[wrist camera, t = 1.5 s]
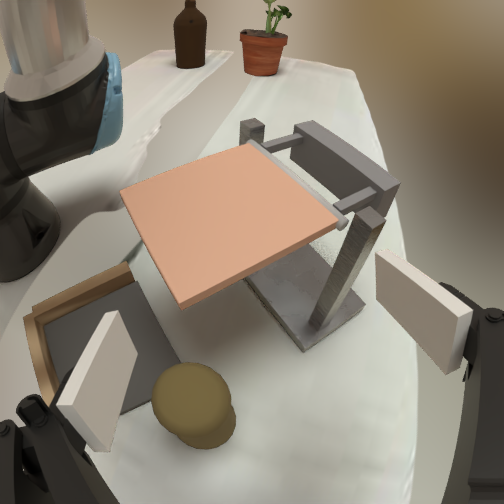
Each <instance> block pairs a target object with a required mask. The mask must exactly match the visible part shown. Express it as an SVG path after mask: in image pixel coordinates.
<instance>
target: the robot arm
mask: <svg viewBox="0 0 504 504" xmlns="http://www.w3.org/2000/svg"><path fill="white" fill-rule="evenodd" d="M0 31H1V35H2V39H3V42H4V46H5V49H6V52H7V56H8V58H9V62H10V65H11V67H12V69H11V71H10V73H9V75H8V77H7V79H6V81H5V84H4V90H5V91H4V92H2V93H0V281H2V282H6V281H12V280H15V279H18V278H20V277H22V276H24V275H26V274H27V273H29V272H30V271H32V270H33V269H34V268H36V267H37V266H38V265H39V264H40V263H41V262H42V261H43V260H44V259H45V258H46V256H47V255H48V254H49V252H50V251H51V250H52V248H53V246H54V244H55V243H56V240H57V238H58V235H59V231H60V218H59V215H58V213H57V211H56V209H55V207H54V205H53V204H52V202H51V201H50V200H49V199H48V198H47V197H46V196H45V195H44V194H43V193H42V192H41V191H40V190H39V189H38V188H37V187H36V186H35V185H34V184H33V183H32V182H31V181H30V179H29V177H28V176H31V175H33V174H36V173H38V172H41V171H43V170H46V169H49V168H51V167H54V166H57V165H59V164H62V163H65V162H68V161H71V160H74V159H77V158H80V157H83V156H86V155H91V154H93V153H94V152H95V151H98V150H100V149H103V148H105V147H108V146H111V145H113V144H114V143H115V142H116V141H117V140H118V139H119V137H120V135H121V132H122V126H123V95H122V91H121V90H122V76H121V67H120V61H119V58H118V55H117V54H116V53H109V52H108V53H107V52H106V53H105V47H104V44H103V42H102V41H101V40H99V39H98V38H96V37H93V36H91V35H89V32H88V24H87V14H86V3H85V0H0ZM375 265H376V300H377V301H378V302H379V303H380V304H381V305H382V306H383V307H384V308H385V309H386V310H387V311H388V312H389V313H390V314H391V315H392V316H393V317H394V318H395V320H396V321H397V322H398V323H399V324H400V325H401V326H402V327H403V328H404V329H405V330H406V331H407V332H408V334H409V335H410V336H411V337H412V338H413V339H414V340H415V341H416V342H417V343H418V344H419V346H420V347H421V348H422V349H423V350H424V351H425V352H426V353H427V355H428V356H429V357H430V358H431V359H432V360H433V361H434V362H435V364H436V365H437V366H438V367H439V368H440V369H441V370H442V372H443V373H444V374H445V375H447V374H449V373H451V372H453V371H455V370H457V369H458V368H460V365H461V362H462V358H463V356H464V358H465V359H466V360H467V361H468V364H467V368H466V371H465V374H464V378H463V382H465V391H464V400H463V408H462V415H461V422H460V429H459V434H458V439H457V445H456V450H455V455H454V459H453V463H452V468H451V472H450V475H449V479H448V483H447V487H446V490H445V493H444V496H443V500H442V503H441V504H504V311H502V310H500V309H496V308H487V309H482V308H481V307H480V306H479V305H477V304H476V303H475V302H473V301H472V300H470V299H469V298H468V297H465V295H464V294H462V293H461V292H459V291H458V290H457V289H455V288H454V287H452V286H451V285H448V284H445V283H442V282H441V283H436V282H435V281H433V280H432V279H431V278H429V277H428V276H427V275H425V274H424V273H422V272H421V271H420V270H418V269H417V268H415V267H414V266H412V265H411V264H409V263H408V262H407V261H405V260H404V259H402V258H401V257H399V256H398V255H396V254H395V253H393V252H392V251H390V250H389V249H385V250H381V251H377V252H375ZM137 355H138V353H137V351H136V349H135V347H134V345H133V342H132V340H131V338H130V336H129V334H128V332H127V329H126V327H125V325H124V323H123V320H122V318H121V316H120V313H119V311H118V310H117V311H112V312H107V313H105V314H104V316H103V318H102V320H101V321H100V323H99V325H98V326H97V328H96V330H95V332H94V333H93V335H92V337H91V339H90V341H89V342H88V344H87V346H86V348H85V350H84V351H83V353H82V355H81V357H80V359H79V361H78V363H77V364H76V366H75V367H72V368H71V369H70V370H69V371H68V372H67V373H66V374H65V376H64V378H63V380H62V382H61V384H60V386H59V388H58V390H57V391H56V393H55V395H54V397H53V399H52V401H51V403H50V405H49V407H48V406H47V404H46V403H45V402H44V400H43V399H42V398H41V396H40V395H37V394H32V395H29V396H27V397H25V398H24V399H23V400H21V402H20V403H19V404H18V406H17V408H16V413H17V414H18V416H19V417H20V418H21V420H22V421H23V422H24V423H25V424H26V426H24V427H20V428H18V427H17V425H16V424H15V423H14V422H13V421H12V420H9V419H8V420H4V421H2V422H0V504H120V503H119V502H118V500H117V499H116V498H115V496H114V495H113V493H112V492H111V490H110V489H109V487H108V486H107V484H106V483H105V481H104V480H103V478H102V476H101V475H100V473H99V472H98V470H97V468H96V467H95V465H94V463H93V462H92V460H91V458H90V457H89V455H88V454H87V453H86V452H85V451H84V449H85V446H86V443H87V444H88V445H89V447H90V448H91V449H92V450H93V451H94V452H110V449H111V445H112V441H113V437H114V433H115V430H116V426H117V422H118V418H119V415H120V411H121V408H122V404H123V401H124V397H125V394H126V390H127V387H128V384H129V380H130V377H131V374H132V371H133V367H134V364H135V361H136V358H137ZM465 379H466V380H465ZM23 469H24V471H23Z"/></svg>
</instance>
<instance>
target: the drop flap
mask: <svg viewBox="0 0 504 504" xmlns="http://www.w3.org/2000/svg"><path fill="white" fill-rule="evenodd" d="M290 147H291V154H290V159H291V160H292V161H294V162H295V163H296V164H297V165H299V166H300V167H301V168H302V169H304V170H305V171H306V172H307V173H309V174H310V175H311V176H312V177H314V178H315V179H316V180H317V181H318V182H320V183H321V184H322V185H323V186H324V187H326V188H327V189H328V190H329V191H330V192H331V193H333V194H334V195H335V196H336V197H337V198H338V199H340V201H338V202H336V203H334V204H333V206H332V205H331V204H330V203H329V202H328V201H327V200H326V199H324V198H323V197H322V196H321V195H320V194H319V193H318V192H316V191H315V190H314V189H313V188H312V187H311V186H309V185H308V184H307V183H306V182H305V181H304V180H302V179H301V178H300V177H299V176H298V175H296V174H295V173H294V172H293V171H292V170H290V169H289V168H288V167H287V166H285V165H284V164H283V163H282V162H281V161H279V160H278V159H277V158H276V157H274V156H273V155H272V154H271V153H274V152H277V151H280V150H283V149H287V148H290ZM400 184H401V182H400V181H398V180H397V179H396V178H395V177H393V176H392V175H391V174H389V173H388V172H387V171H386V170H384V169H383V168H382V167H380V166H379V165H378V164H376V163H375V162H374V161H372V160H371V159H369V158H368V157H367V156H365V155H364V154H363V153H361V152H360V151H358V150H357V149H356V148H354V147H353V146H351V145H350V144H348V143H347V142H345V141H344V140H342V139H341V138H340V137H338V136H337V135H335V134H334V133H332V132H330V131H329V130H327V129H326V128H324V127H323V126H321V125H320V124H318V123H316V122H315V121H313V120H312V121H308V122H303V123H299V124H295V125H294V132H293V134H292V135H288V136H284V137H281V138H278V139H274V140H271V141H267V142H264V143H261V144H260V145H259V144H258V143H257V142H255V141H254V140H252V139H250V140H248V141H247V142H246V144H244V145H241V146H237V147H234V148H231V149H228V150H225V151H222V152H219V153H216V154H213V155H210V156H207V157H204V158H202V159H199V160H196V161H193V162H191V163H188V164H185V165H183V166H180V167H177V168H174V169H172V170H169V171H166V172H164V173H161V174H159V175H156V176H154V177H151V178H149V179H147V180H144V181H142V182H139V183H136V184H134V185H132V186H129V187H127V188H125V189H122V190H120V191H119V192H120V195H121V198H122V200H123V202H124V204H125V206H126V208H127V210H128V213H129V215H130V216H131V219H132V221H133V223H134V225H135V227H136V229H137V231H138V233H139V234H140V237H141V238H142V240H143V242H144V244H145V246H146V248H147V250H148V252H149V254H150V256H151V258H152V259H153V261H154V263H155V265H156V267H157V269H158V270H159V272H160V274H161V276H162V278H163V279H164V281H165V283H166V285H167V287H168V288H169V290H170V292H171V294H172V295H173V297H174V299H175V301H176V302H177V304H178V306H179V307H180V309H181V311H182V310H184V309H186V308H188V307H190V306H191V305H193V304H195V303H197V302H199V301H201V300H203V299H205V298H207V297H209V296H211V295H213V294H214V293H216V292H218V291H220V290H222V289H224V288H226V287H228V286H230V285H232V284H233V283H235V282H237V281H239V280H241V279H243V278H245V277H247V276H249V275H250V274H252V273H254V272H256V271H258V270H260V269H262V268H264V267H265V266H267V265H269V264H271V263H273V262H275V261H277V260H279V259H280V258H282V257H284V256H286V255H288V254H290V253H292V252H293V251H295V250H297V249H299V248H301V247H303V246H304V245H306V244H308V243H310V242H312V241H314V240H315V239H317V238H319V237H321V236H323V235H325V234H326V233H328V232H330V231H332V230H334V229H336V228H337V229H338V230H339V231H341V230H343V229H344V228H345V227H346V226H347V224H348V222H349V220H348V219H347V218H346V217H345V216H344V215H346V214H348V213H350V212H352V211H353V212H354V213H357V212H359V211H361V210H363V209H365V208H366V207H368V206H371V207H372V208H373V209H374V210H375V211H376V212H378V213H379V214H380V215H381V216H382V217H383V218H384V217H386V215H387V213H388V210H389V208H390V206H391V204H392V202H393V199H394V197H395V195H396V193H397V190H398V188H399V186H400Z"/></svg>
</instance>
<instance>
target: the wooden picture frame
mask: <svg viewBox="0 0 504 504" xmlns="http://www.w3.org/2000/svg"><path fill="white" fill-rule="evenodd" d="M134 282H135V280H134V277H133V275H132V272H131V270H130V268H129V266H128V264H127V261H125V262H123V263H121V264H119V265H117V266H114V267H112V268H110V269H108V270H106V271H104V272H102V273H100V274H98V275H95V276H93V277H91V278H89V279H87V280H85V281H83V282H81V283H79V284H77V285H75V286H73V287H71V288H69V289H67V290H65V291H63V292H60V293H58V294H57V295H55V296H52V297H50V298H48V299H47V300H45V301H43V302H41V303H39V304H37V305H35V306H33V307H32V311H33V312H32V313H31V314H28V315H26V316H25V317H23V319H24V325H25V330H26V336H27V340H28V345H29V349H30V354H31V358H32V362H33V366H34V370H35V374H36V377H37V381H38V384H39V388H40V391H41V394H42V398H43V400H44V402H45V403H46V404H47V406H48V407H49V405H50V403H51V401H52V399H53V397H54V395H55V393H56V391H57V390H58V388H59V386H60V383H59V380H58V377H57V374H56V370H55V367H54V364H53V361H52V357H51V354H50V350H49V346H48V342H47V339H46V335H45V330H44V326H45V325H47V324H49V323H51V322H53V321H55V320H57V319H59V318H61V317H63V316H65V315H67V314H69V313H71V312H73V311H75V310H77V309H79V308H81V307H83V306H86V305H88V304H90V303H92V302H94V301H96V300H98V299H100V298H102V297H104V296H106V295H108V294H110V293H112V292H115V291H117V290H119V289H121V288H123V287H125V286H127V285H129V284H131V283H134Z"/></svg>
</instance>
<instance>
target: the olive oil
mask: <svg viewBox="0 0 504 504" xmlns="http://www.w3.org/2000/svg"><path fill="white" fill-rule="evenodd" d="M206 29H207V20H206V18H205V16H204V15H203V14H202V13H201V12H200V11H199V10H198V9H197V8H196V1H195V0H186V2H185V9H184V10H183V11H182V12H181V13H180V14H179V15H178V16H177V17H176V19H175V21H174V38H175V53H176V63H177V67H178V68H184V69H189V68H197V67H201V66H203V65H204V64H205V45H206Z"/></svg>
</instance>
